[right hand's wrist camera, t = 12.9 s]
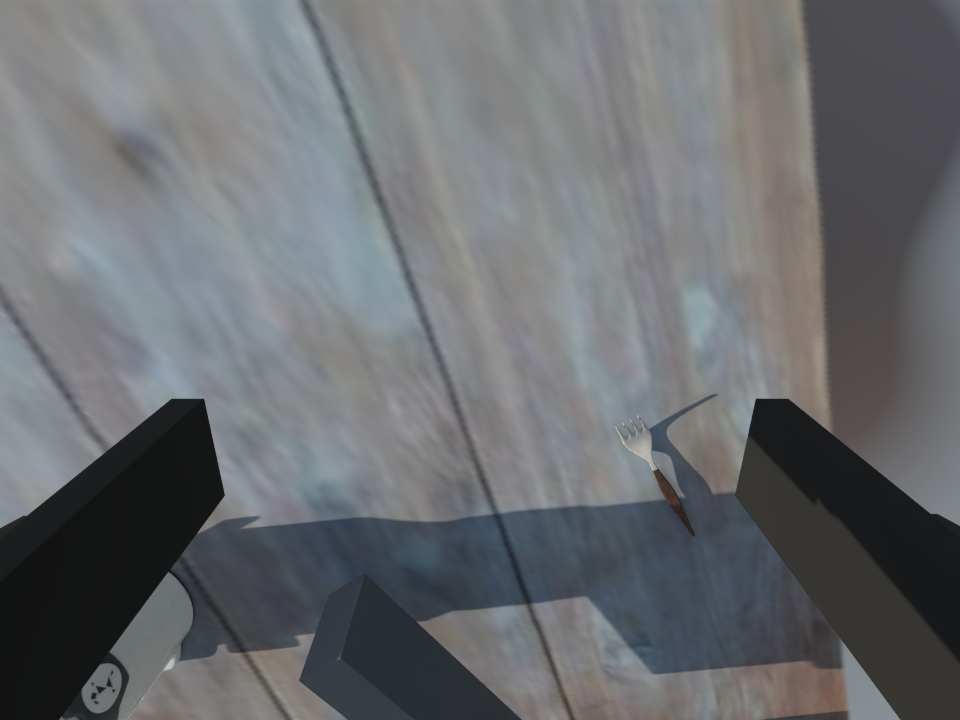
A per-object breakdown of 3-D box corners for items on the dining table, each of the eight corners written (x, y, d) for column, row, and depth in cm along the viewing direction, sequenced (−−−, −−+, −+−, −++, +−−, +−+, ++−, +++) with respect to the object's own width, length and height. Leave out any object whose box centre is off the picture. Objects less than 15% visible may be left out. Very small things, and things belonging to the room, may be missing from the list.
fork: (679, 538, 53) (687, 552, 51) (608, 417, 48) (613, 428, 46) (704, 527, 52) (712, 540, 50) (634, 404, 47) (640, 414, 45)
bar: (328, 595, 48) (298, 680, 41) (364, 573, 47) (340, 657, 40) (491, 738, 56) (491, 833, 48) (525, 723, 55) (531, 817, 47)
